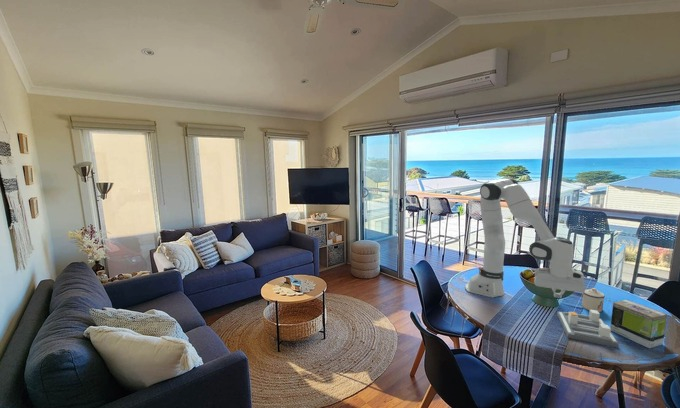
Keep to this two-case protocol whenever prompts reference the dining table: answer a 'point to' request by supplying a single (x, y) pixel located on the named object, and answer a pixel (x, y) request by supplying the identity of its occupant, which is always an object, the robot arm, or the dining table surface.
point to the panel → (588, 329)
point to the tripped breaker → (572, 318)
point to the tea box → (638, 323)
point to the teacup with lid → (593, 300)
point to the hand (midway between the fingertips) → (557, 296)
